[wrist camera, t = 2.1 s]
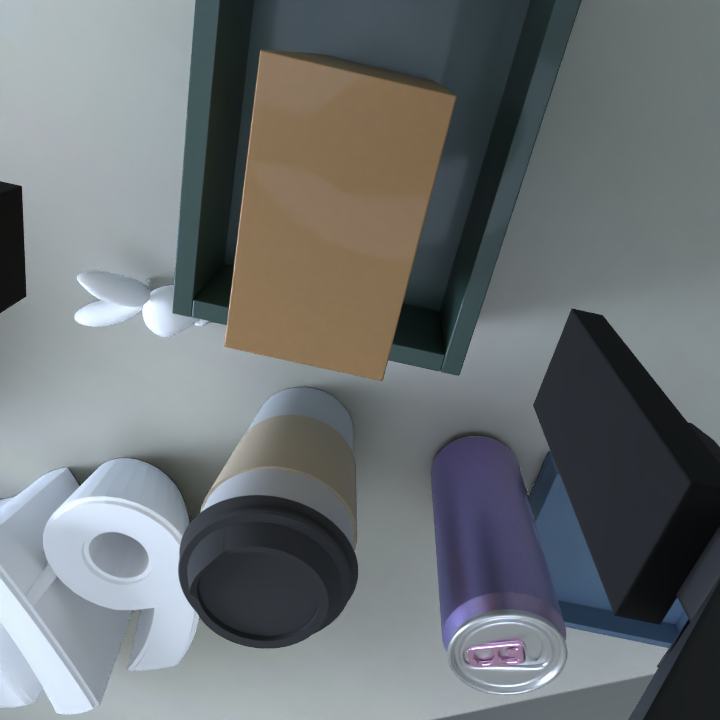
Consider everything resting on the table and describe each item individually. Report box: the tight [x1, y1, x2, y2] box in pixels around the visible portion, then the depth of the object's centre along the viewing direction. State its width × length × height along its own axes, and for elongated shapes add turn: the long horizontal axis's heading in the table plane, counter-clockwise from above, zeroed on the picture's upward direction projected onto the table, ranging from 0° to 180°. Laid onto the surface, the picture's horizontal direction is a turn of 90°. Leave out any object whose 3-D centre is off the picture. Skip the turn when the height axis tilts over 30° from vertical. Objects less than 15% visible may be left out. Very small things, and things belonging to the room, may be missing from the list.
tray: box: [529, 452, 688, 648], centre depth 43 cm, size 15×13×2 cm
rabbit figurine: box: [74, 270, 210, 337], centre depth 36 cm, size 6×4×8 cm
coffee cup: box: [178, 387, 358, 648], centre depth 35 cm, size 9×9×15 cm
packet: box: [225, 50, 456, 381], centre depth 27 cm, size 6×10×14 cm, turn 168°
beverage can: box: [431, 436, 567, 695], centre depth 35 cm, size 6×6×15 cm
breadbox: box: [172, 0, 581, 376], centre depth 30 cm, size 20×15×7 cm
